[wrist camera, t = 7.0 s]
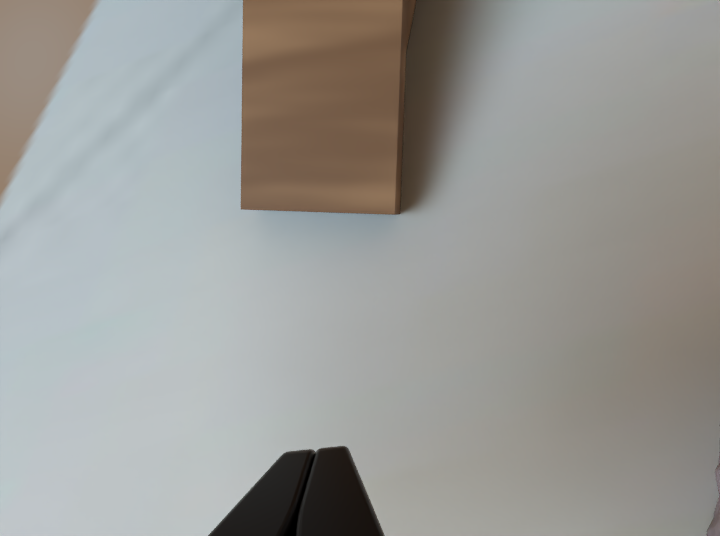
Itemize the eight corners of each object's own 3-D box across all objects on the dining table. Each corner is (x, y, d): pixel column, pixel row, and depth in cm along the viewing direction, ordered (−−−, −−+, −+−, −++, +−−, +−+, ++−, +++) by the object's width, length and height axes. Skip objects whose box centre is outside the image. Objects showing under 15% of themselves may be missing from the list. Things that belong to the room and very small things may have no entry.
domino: (394, 214, 19) (407, -128, 18) (240, 209, 20) (244, -119, 19) (399, 214, 21) (411, -102, 20) (257, 209, 21) (261, -94, 20)
